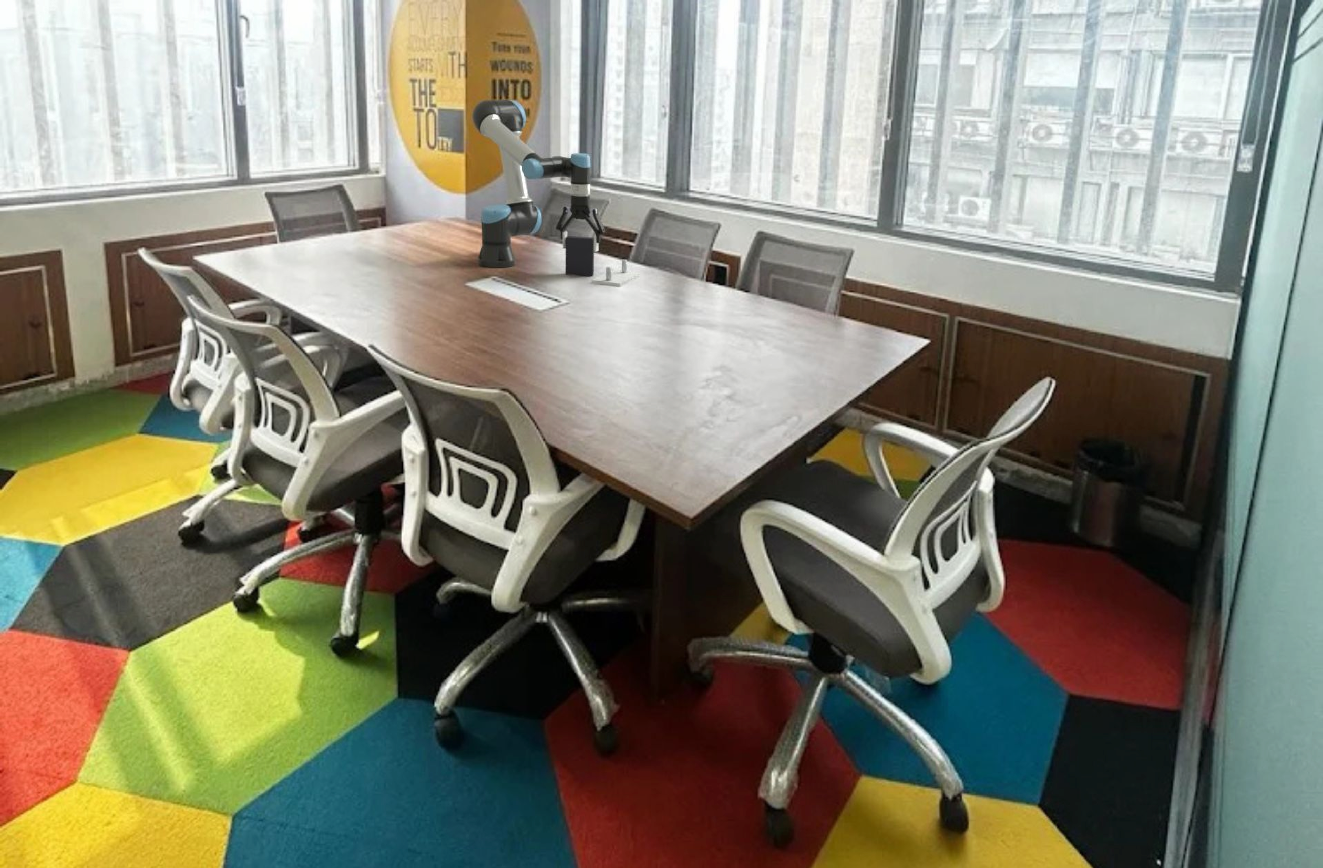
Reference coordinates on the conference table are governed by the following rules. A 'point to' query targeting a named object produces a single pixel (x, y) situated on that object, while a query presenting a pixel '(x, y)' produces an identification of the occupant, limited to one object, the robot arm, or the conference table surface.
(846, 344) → the conference table surface
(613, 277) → the white peg stand
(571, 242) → the calculator
